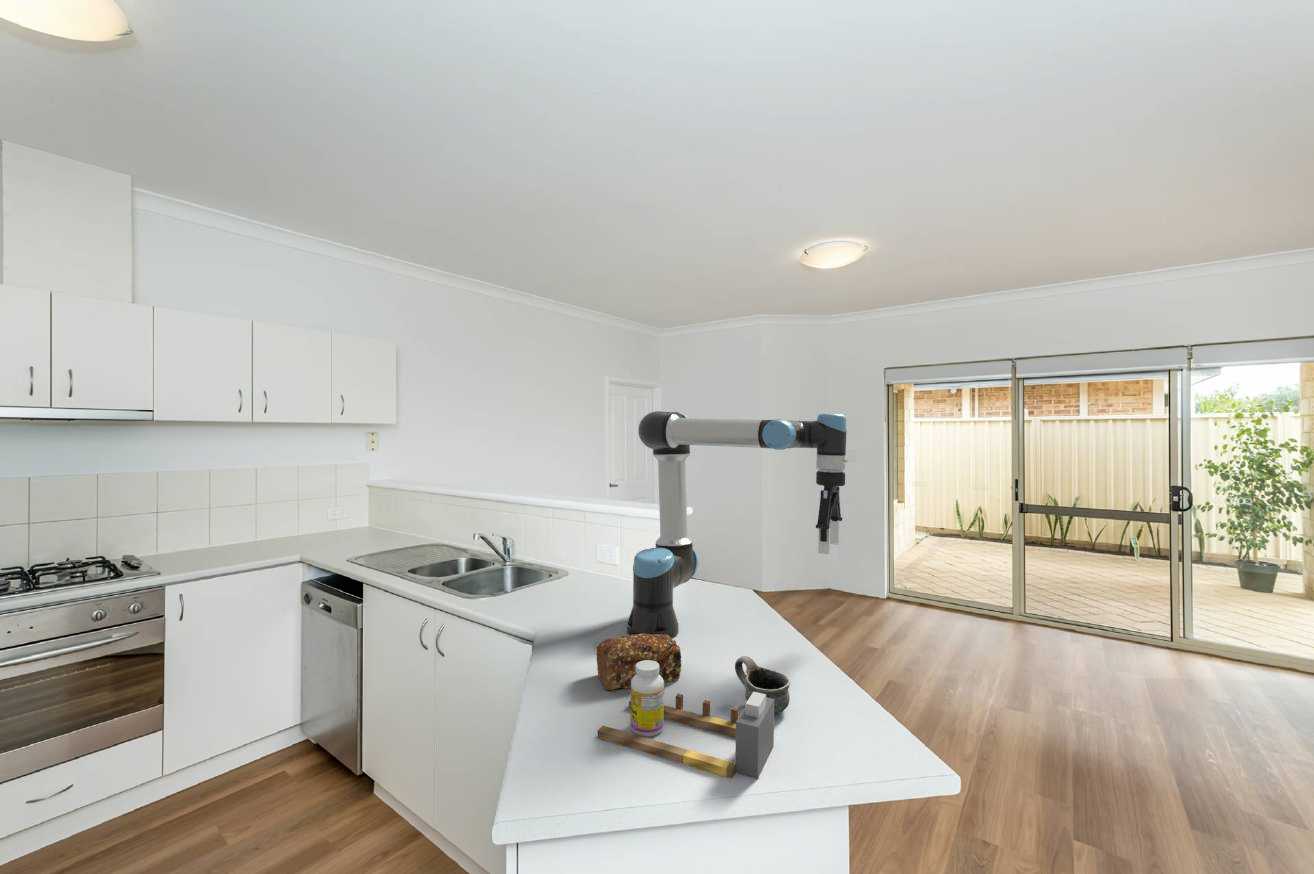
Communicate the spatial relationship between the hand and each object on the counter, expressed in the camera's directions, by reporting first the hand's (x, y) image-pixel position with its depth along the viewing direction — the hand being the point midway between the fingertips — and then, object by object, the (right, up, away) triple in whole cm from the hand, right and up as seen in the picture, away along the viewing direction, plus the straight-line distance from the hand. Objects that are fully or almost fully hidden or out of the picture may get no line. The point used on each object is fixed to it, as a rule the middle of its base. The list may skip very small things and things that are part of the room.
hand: (828, 548), depth 150 cm
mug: (-25, -28, -32) cm, 49 cm away
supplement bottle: (-49, -28, -41) cm, 69 cm away
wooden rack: (-43, -28, -43) cm, 67 cm away
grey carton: (-29, -28, -50) cm, 64 cm away
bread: (-51, -28, -18) cm, 61 cm away
